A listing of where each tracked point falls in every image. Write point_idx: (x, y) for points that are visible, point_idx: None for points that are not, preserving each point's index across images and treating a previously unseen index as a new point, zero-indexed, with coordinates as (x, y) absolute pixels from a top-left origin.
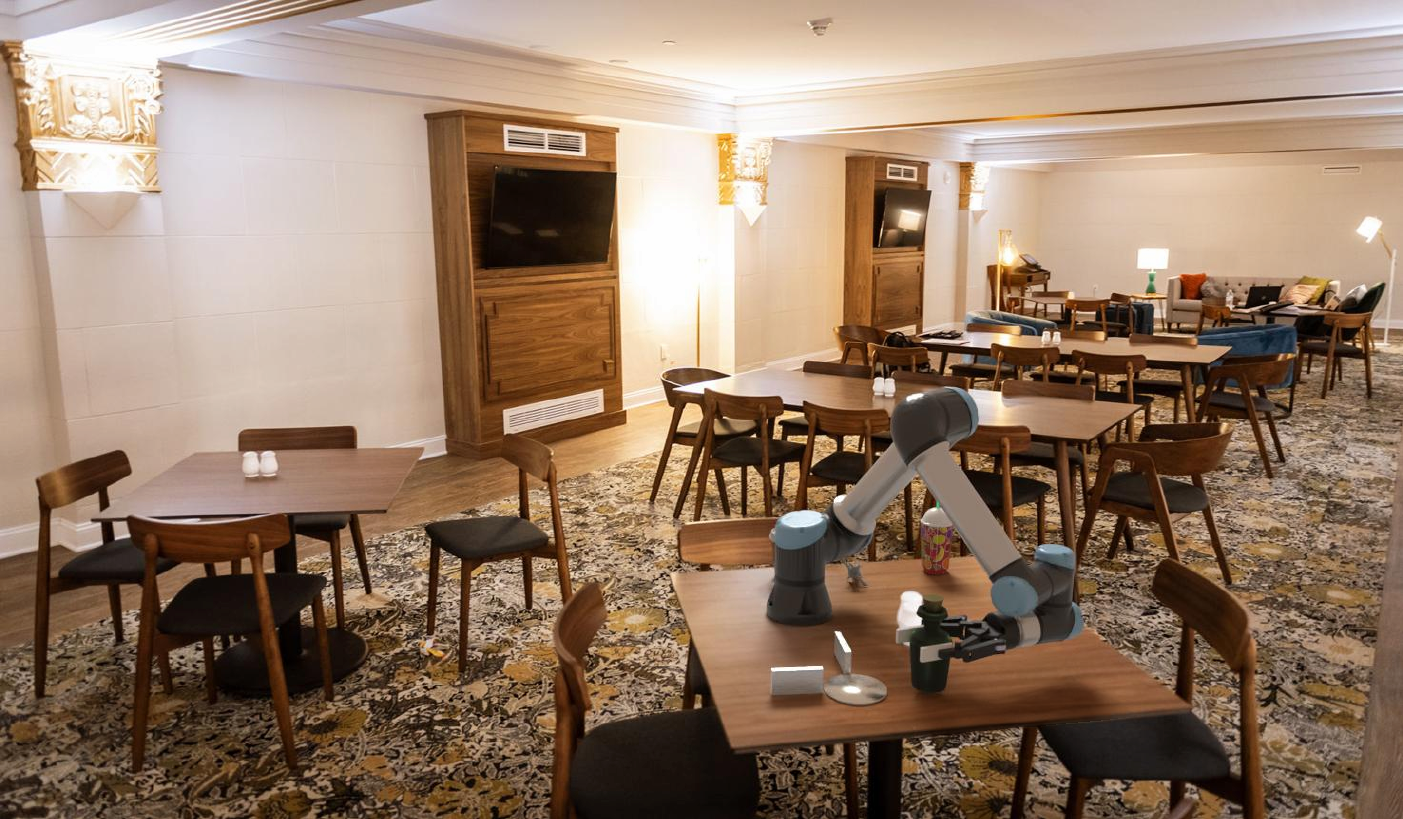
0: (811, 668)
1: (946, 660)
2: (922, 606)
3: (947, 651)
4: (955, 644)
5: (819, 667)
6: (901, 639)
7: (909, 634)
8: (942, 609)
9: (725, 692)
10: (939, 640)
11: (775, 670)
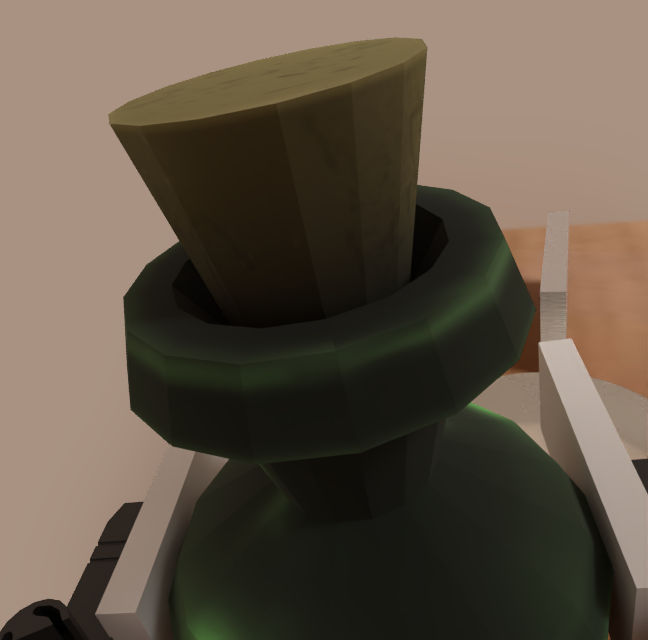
0: (549, 270)
1: None
2: (428, 205)
3: (97, 550)
4: (58, 616)
5: (556, 286)
6: (547, 427)
7: (565, 454)
8: (228, 326)
9: (580, 228)
10: (204, 505)
11: (550, 217)
